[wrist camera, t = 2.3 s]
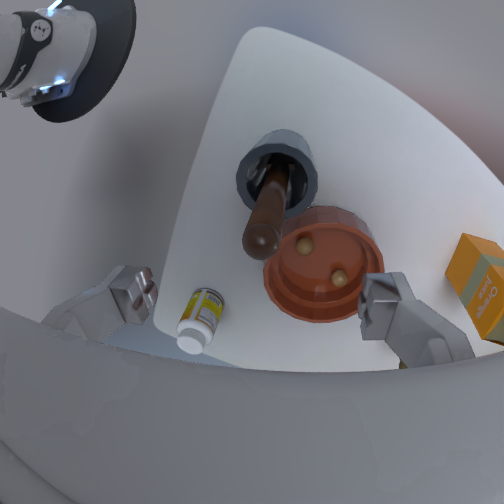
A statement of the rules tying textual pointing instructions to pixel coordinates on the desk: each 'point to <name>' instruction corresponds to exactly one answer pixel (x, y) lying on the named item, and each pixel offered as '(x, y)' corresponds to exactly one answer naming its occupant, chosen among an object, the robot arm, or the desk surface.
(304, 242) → the bead
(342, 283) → the bead
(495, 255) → the orange juice
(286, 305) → the bowl
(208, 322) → the supplement bottle
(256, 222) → the stir paddle
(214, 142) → the desk surface
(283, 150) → the crock
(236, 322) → the desk surface
